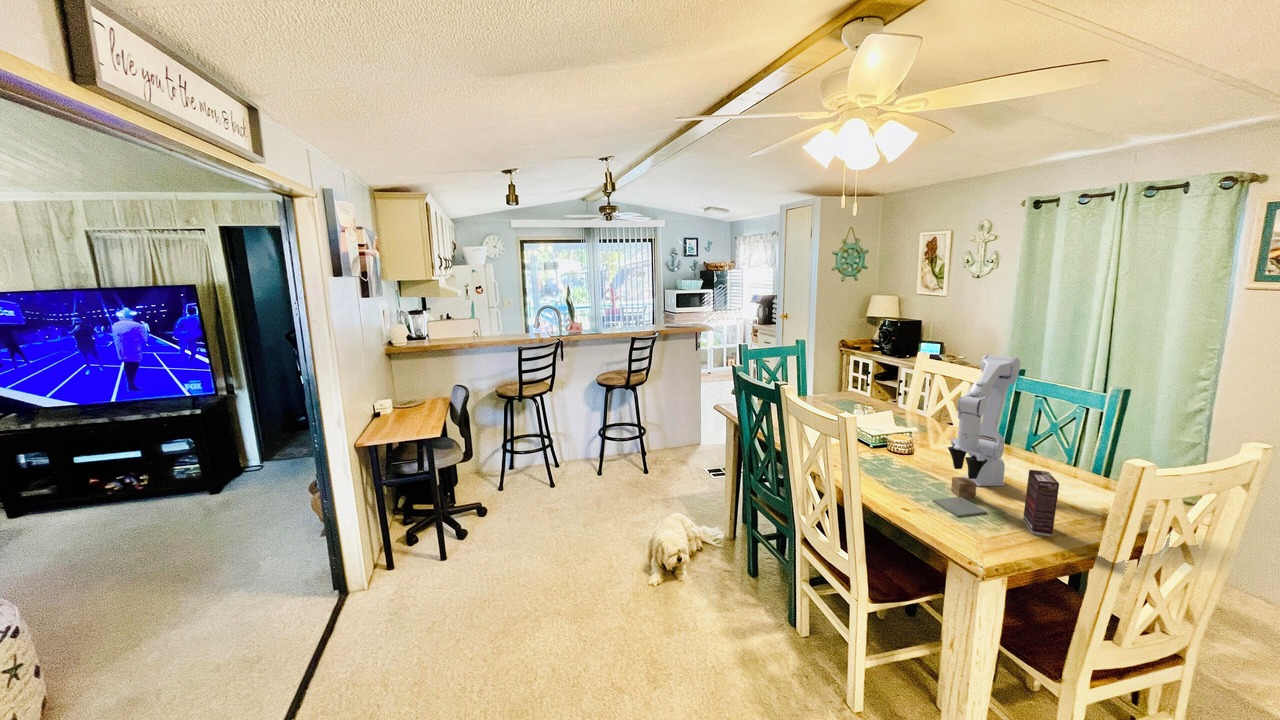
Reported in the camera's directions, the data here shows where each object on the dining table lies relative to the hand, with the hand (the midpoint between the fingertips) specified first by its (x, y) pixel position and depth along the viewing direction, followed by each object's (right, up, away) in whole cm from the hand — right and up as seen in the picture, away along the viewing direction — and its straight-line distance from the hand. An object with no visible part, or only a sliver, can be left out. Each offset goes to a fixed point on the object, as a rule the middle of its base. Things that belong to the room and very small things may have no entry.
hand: (965, 473), depth 159 cm
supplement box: (+8, -11, -19) cm, 24 cm away
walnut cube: (+1, -7, +2) cm, 8 cm away
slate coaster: (-6, -9, -6) cm, 12 cm away
